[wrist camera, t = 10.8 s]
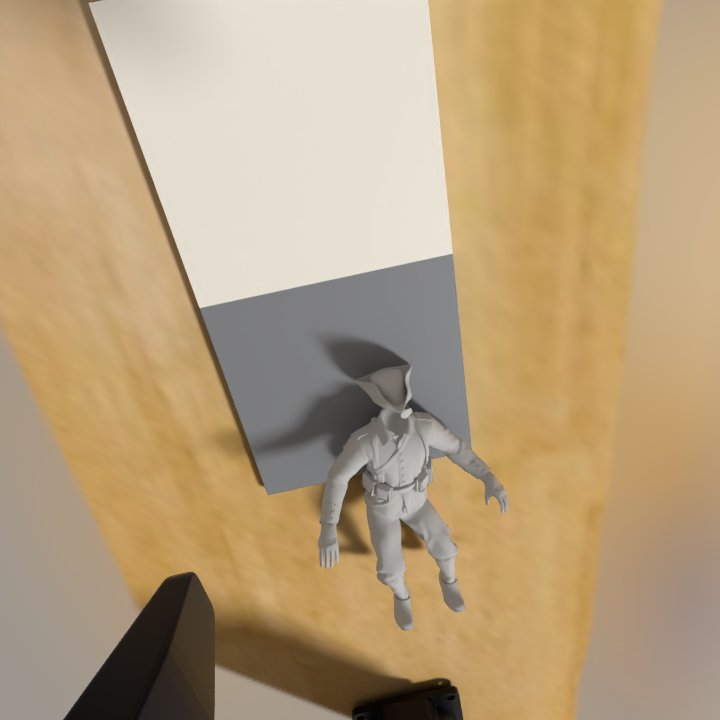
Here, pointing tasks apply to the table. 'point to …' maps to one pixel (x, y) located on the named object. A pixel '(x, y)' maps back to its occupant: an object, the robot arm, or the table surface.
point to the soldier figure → (400, 487)
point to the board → (301, 206)
